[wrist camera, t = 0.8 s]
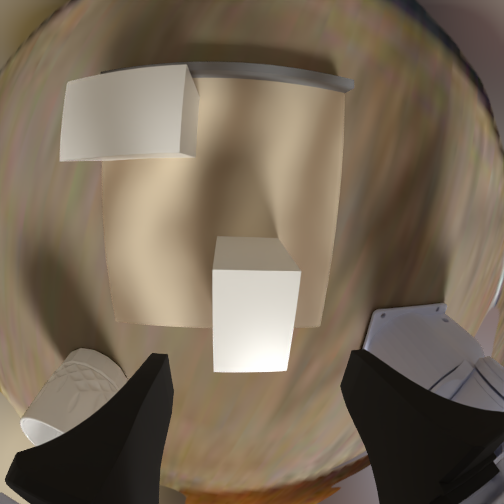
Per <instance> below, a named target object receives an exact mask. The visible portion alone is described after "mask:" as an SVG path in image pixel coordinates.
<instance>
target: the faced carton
mask: <svg viewBox="0 0 504 504" xmlns="http://www.w3.org/2000/svg"><path fill="white" fill-rule="evenodd" d="M199 101H200V96H199V94H198V91H197V89H196V86H195V84H194V81H193V79H192V76H191V74H190V71H189V69H188V66H187V64H185V65H167V66H155V67H145V68H137V69H129V70H122V71H116V72H110V73H105V74H100V75H95V76H90V77H86V78H81V79H77V80H73V81H69V82H67V88H66V94H65V101H64V109H63V117H62V128H61V142H60V161H112V160H127V159H147V158H196V145H197V128H198V114H199Z"/></svg>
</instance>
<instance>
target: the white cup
mask: <svg viewBox="0 0 504 504" xmlns="http://www.w3.org/2000/svg"><path fill="white" fill-rule="evenodd" d="M126 383H127V378H126V377H125V375H124V373H123V371H122V370H121V368H120V367H119V366H118V365H117V364H116V363H114V362H113V361H112V360H111V359H110V358H109V357H107V356H105V355H103V354H101V353H99V352H97V351H95V350H92V349H85V348H80V349H77V350H75V351H72V352H71V353H70V354H69V355H68V357H67V358H66V359H65V361H64V362H63V363H62V365H61V366H60V367H59V368H58V369H57V370H56V371H55V372H54V373H53V374H52V376H51V377H50V379H49V380H48V381H47V382H46V383H45V385H44V386H43V387H42V389H41V390H40V392H39V393H38V394H37V396H36V397H35V399H34V400H33V402H32V403H31V404H30V406H29V407H28V409H27V410H26V412H25V413H24V415H23V416H22V418H21V419H20V426H21V429H22V430H23V432H24V434H25V435H26V436H27V438H28V439H29V440H30V441H31V442H32V443H33V444H34V445H35V446H38V445H41V444H43V443H46V442H48V441H50V440H52V439H54V438H56V437H58V436H60V435H62V434H64V433H66V432H68V431H69V430H71V429H72V428H74V427H75V426H77V425H79V424H80V423H81V422H83V421H84V420H86V419H87V418H89V417H90V416H91V415H92V414H94V413H95V412H96V411H97V410H99V409H100V408H101V407H102V406H103V405H104V404H106V403H107V402H108V401H109V400H110V399H111V398H112V397H113V396H114V395H115V394H116V393H117V392H118V391H119V390H120V389H121V388H122V387H123V386H124V385H125V384H126Z"/></svg>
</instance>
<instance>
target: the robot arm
mask: <svg viewBox="0 0 504 504" xmlns="http://www.w3.org/2000/svg"><path fill="white" fill-rule="evenodd" d="M446 308H447V305H446V304H445V303H438V304H429V305H420V306H410V307H399V308H387V309H377V310H375V311H374V312H373V314H372V317H371V321H370V325H369V328H368V332H367V335H366V338H365V342H364V345H363V348H362V349H361V350H352V351H351V354H350V358H349V361H348V364H347V367H346V370H345V373H344V376H343V379H342V382H341V385H340V387H341V390H342V394H343V397H344V401H345V404H346V407H347V409H348V411H349V413H350V415H351V418H352V420H353V422H354V424H355V426H356V428H357V430H358V432H359V435H360V437H361V439H362V441H363V443H364V445H365V448H366V450H367V453H368V456H369V460H370V463H371V466H372V470H373V474H374V478H375V482H376V486H377V491H378V497H379V503H380V504H504V367H503V366H502V365H500V364H499V363H498V362H497V361H495V360H494V359H493V358H491V357H489V356H488V357H484V352H483V349H482V347H481V345H480V344H479V342H478V341H477V340H476V339H475V338H474V337H473V336H472V335H470V334H469V333H468V332H467V331H466V330H464V329H463V328H462V327H461V326H460V325H458V324H457V323H456V322H455V321H454V320H452V319H451V318H450V317H449V316H447V315H446V314H445V311H446ZM383 313H384V314H383ZM382 314H383V315H382ZM381 315H382V316H381ZM173 395H174V389H173V384H172V378H171V372H170V365H169V359H168V354H157V353H152V354H151V355H150V356H149V357H148V358H147V359H146V361H145V362H144V363H143V364H142V366H141V367H140V368H139V369H138V370H137V371H136V373H135V374H134V375H133V376H132V377H131V378H130V379H129V380H128V382H127V383H126V384H125V385H124V386H123V387H122V388H121V389H120V390H119V391H118V392H117V393H116V394H115V395H114V396H113V397H112V398H111V399H110V400H109V401H108V402H107V403H106V404H104V405H103V406H102V407H101V408H100V409H99V410H97V411H96V412H95V413H94V414H92V415H91V416H90V417H89V418H87V419H86V420H84V421H83V422H81V423H80V424H79V425H77V426H75V427H74V428H72V429H71V430H69V431H68V432H66V433H64V434H62V435H60V436H58V437H56V438H54V439H52V440H50V441H48V442H46V443H43V444H41V445H38V446H36V447H33V448H30V449H27V450H24V451H21V452H18V453H17V454H16V455H15V458H14V460H13V462H12V464H11V466H10V468H9V471H8V473H7V475H6V478H5V482H6V484H7V485H8V486H9V487H10V488H11V489H12V490H13V491H15V492H16V493H17V494H19V495H20V496H21V497H22V498H23V499H25V500H26V501H27V502H29V503H30V504H159V481H160V467H161V460H162V455H163V450H164V445H165V441H166V436H167V432H168V427H169V423H170V418H171V414H172V405H173ZM0 504H19V503H17V502H16V501H14V500H13V499H11V498H10V497H8V496H6V495H5V494H3V493H0Z"/></svg>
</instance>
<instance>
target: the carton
mask: <svg viewBox="0 0 504 504" xmlns="http://www.w3.org/2000/svg"><path fill="white" fill-rule="evenodd" d="M300 278H301V270H300V269H299V267H298V266H297V264H296V263H295V261H294V260H293V258H292V257H291V256H290V254H289V253H288V251H287V250H286V248H285V247H284V246H283V244H282V243H281V241H280V240H279V238H264V237H232V236H217V240H216V247H215V254H214V262H213V269H212V303H213V359H214V372H271V371H287V365H288V359H289V353H290V347H291V341H292V335H293V328H294V321H295V315H296V308H297V301H298V293H299V286H300Z"/></svg>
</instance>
